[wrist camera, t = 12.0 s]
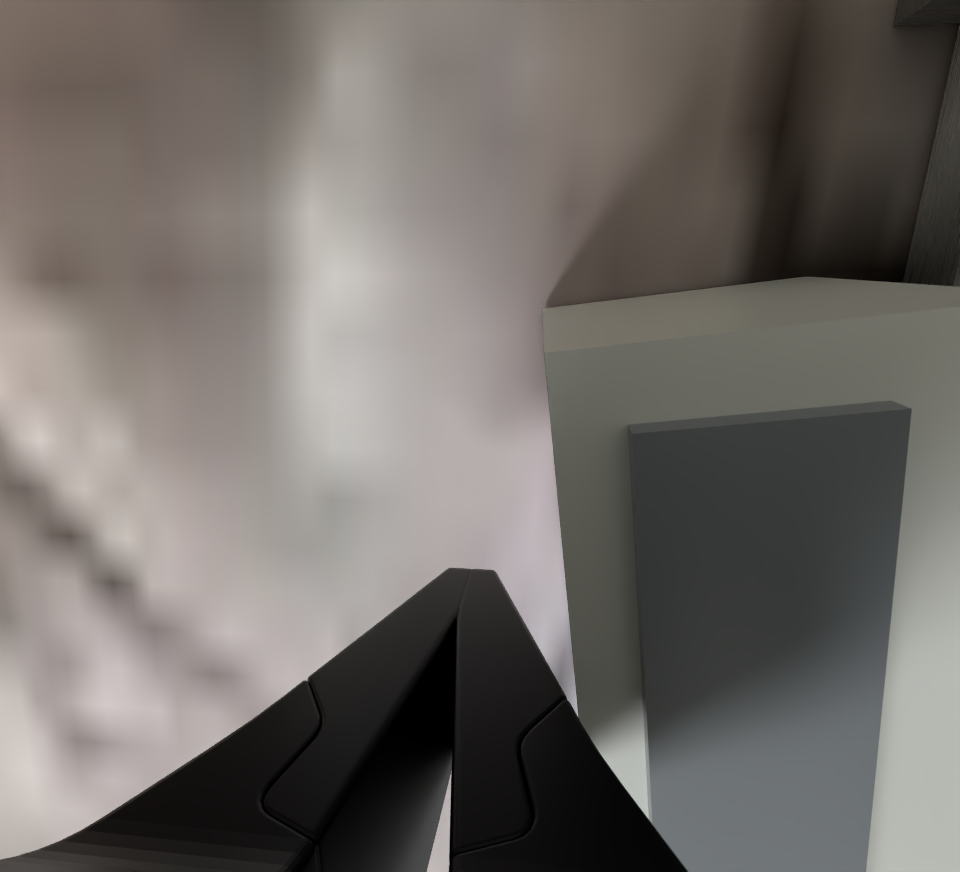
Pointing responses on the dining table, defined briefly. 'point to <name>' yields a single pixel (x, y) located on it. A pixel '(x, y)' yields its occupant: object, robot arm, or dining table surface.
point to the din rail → (938, 165)
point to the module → (768, 565)
